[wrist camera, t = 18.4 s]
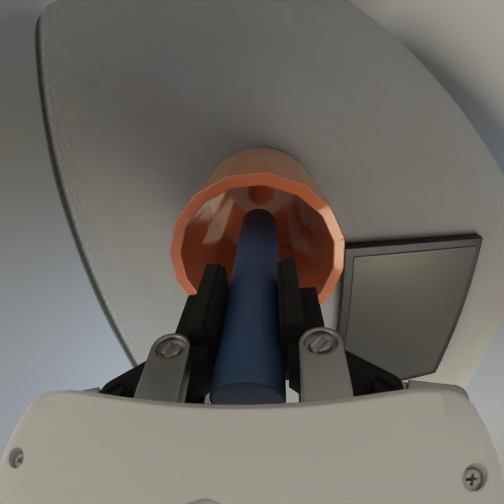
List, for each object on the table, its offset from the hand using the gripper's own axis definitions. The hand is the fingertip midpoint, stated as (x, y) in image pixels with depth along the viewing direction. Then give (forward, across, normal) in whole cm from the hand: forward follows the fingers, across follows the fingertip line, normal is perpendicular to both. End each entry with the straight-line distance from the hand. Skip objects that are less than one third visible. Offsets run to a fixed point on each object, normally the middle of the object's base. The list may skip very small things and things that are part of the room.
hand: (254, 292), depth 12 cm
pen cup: (+12, 0, 0) cm, 12 cm away
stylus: (+8, 0, 0) cm, 8 cm away
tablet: (+12, -14, +14) cm, 23 cm away
